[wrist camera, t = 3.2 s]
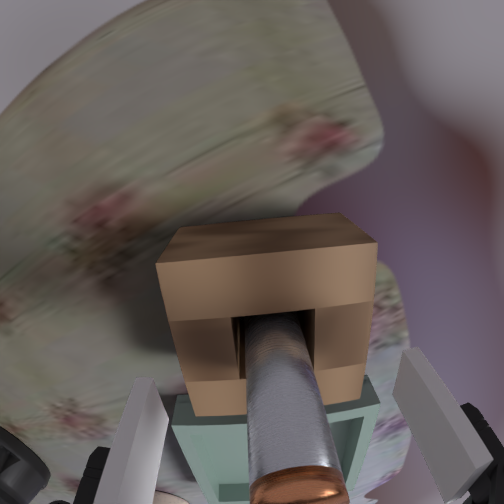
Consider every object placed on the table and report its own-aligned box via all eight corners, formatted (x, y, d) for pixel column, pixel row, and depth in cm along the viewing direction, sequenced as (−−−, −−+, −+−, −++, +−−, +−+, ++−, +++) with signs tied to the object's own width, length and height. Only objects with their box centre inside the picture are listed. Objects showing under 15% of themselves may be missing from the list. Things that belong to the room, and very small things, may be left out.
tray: (211, 481, 29) (209, 505, 26) (177, 394, 24) (171, 425, 21) (346, 467, 29) (353, 490, 26) (367, 375, 24) (380, 403, 21)
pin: (246, 314, 21) (254, 530, 7) (241, 274, 20) (245, 499, 6) (289, 309, 21) (342, 518, 7) (288, 269, 20) (356, 484, 6)
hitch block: (203, 357, 23) (195, 416, 17) (179, 227, 19) (155, 263, 14) (336, 343, 23) (359, 398, 17) (340, 212, 19) (377, 242, 14)
